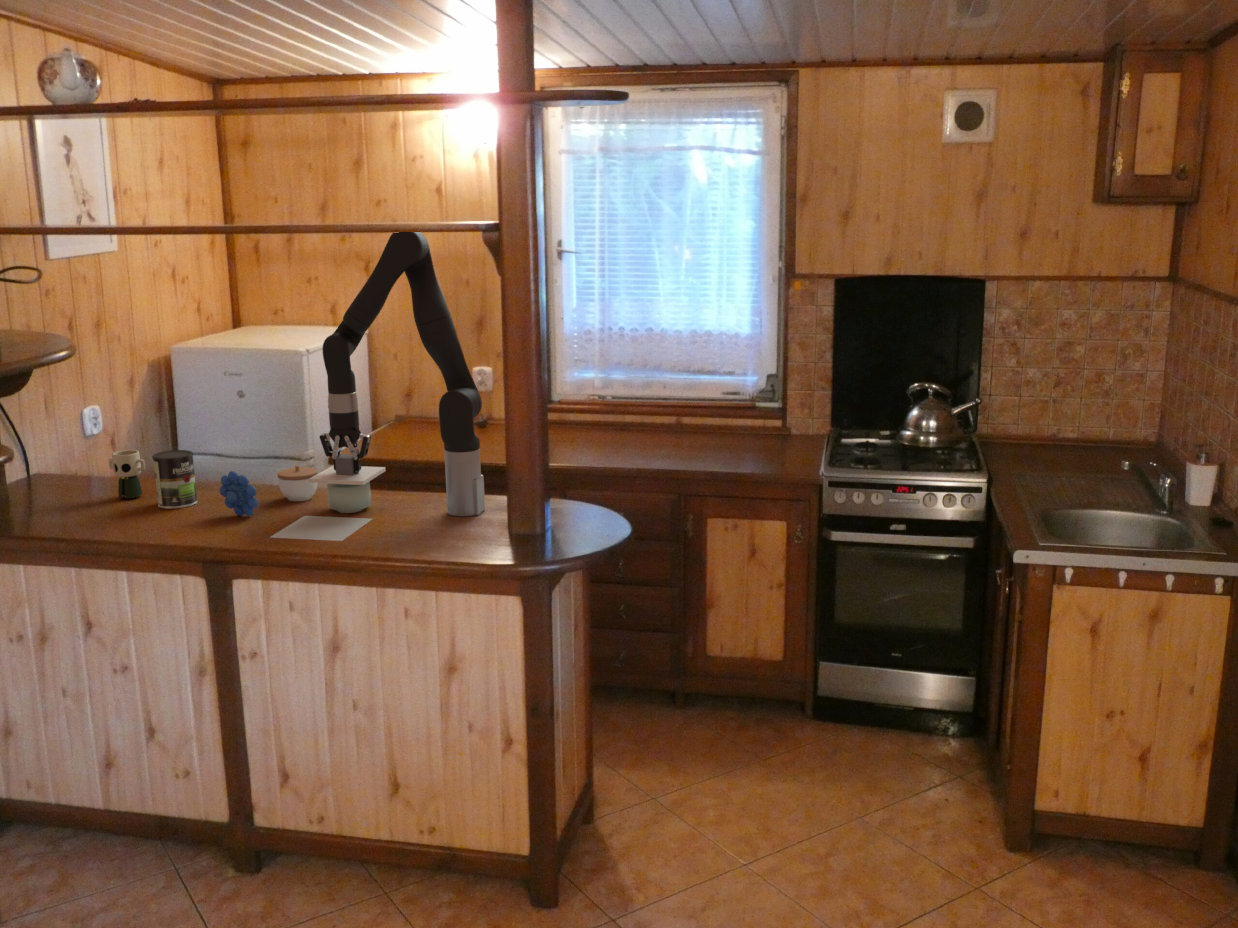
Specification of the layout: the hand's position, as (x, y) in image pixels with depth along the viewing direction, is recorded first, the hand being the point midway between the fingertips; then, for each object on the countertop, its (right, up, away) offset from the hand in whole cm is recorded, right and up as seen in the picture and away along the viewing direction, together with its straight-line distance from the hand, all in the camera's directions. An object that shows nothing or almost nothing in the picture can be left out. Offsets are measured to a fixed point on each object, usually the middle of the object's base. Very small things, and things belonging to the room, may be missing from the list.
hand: (347, 472), depth 296 cm
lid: (0, -1, 0) cm, 1 cm away
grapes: (-28, -12, -2) cm, 31 cm away
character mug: (-65, -7, +18) cm, 68 cm away
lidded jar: (-17, -8, +15) cm, 24 cm away
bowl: (0, -10, +2) cm, 11 cm away
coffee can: (-49, -9, +11) cm, 51 cm away
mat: (-3, -14, -14) cm, 20 cm away
